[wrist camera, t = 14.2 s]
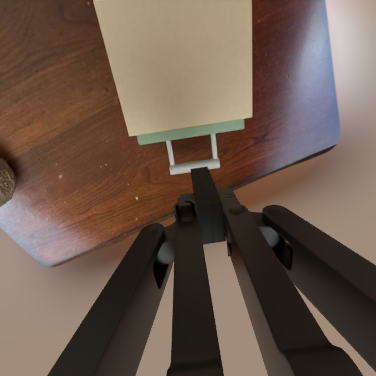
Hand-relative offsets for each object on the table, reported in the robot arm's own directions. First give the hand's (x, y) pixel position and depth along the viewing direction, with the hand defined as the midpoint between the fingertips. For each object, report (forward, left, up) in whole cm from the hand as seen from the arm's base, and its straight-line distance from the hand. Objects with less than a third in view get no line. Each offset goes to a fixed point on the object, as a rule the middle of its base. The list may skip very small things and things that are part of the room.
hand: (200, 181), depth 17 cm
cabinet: (0, -12, -16) cm, 20 cm away
